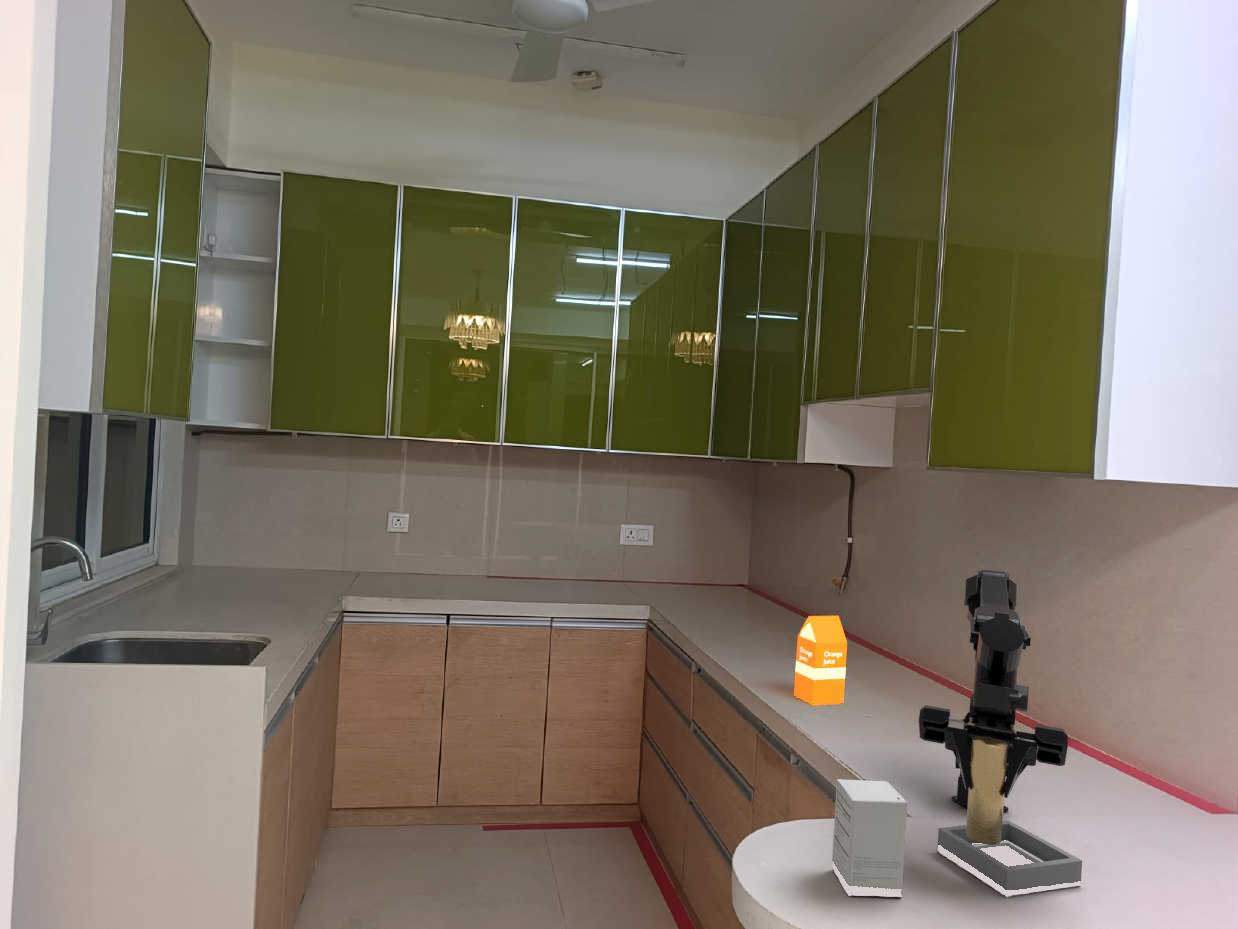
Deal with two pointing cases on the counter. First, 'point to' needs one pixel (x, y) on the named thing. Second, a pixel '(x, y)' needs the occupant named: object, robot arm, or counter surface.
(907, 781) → the counter surface
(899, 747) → the counter surface
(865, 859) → the supplement box
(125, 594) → the counter surface
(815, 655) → the orange juice
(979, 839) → the shiny gold cylinder
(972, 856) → the walled box
